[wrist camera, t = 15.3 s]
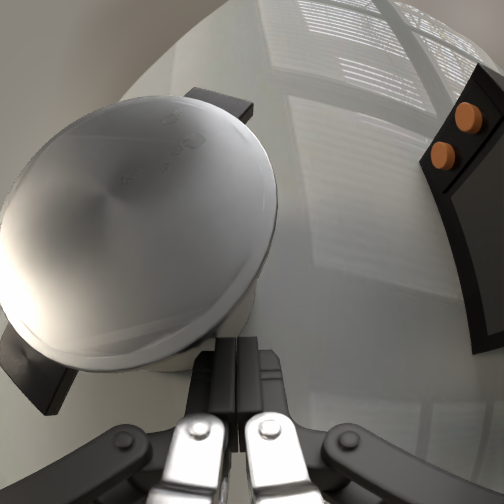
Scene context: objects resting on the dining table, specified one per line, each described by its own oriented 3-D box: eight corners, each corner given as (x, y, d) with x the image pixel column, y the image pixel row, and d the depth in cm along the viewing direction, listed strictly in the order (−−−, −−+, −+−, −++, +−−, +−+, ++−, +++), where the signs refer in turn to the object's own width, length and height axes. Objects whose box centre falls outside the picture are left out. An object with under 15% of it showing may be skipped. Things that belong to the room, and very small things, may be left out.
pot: (187, 442, 12) (129, 502, 5) (45, 337, 14) (-55, 296, 6) (303, 222, 18) (339, 115, 10) (163, 163, 20) (136, 62, 12)
